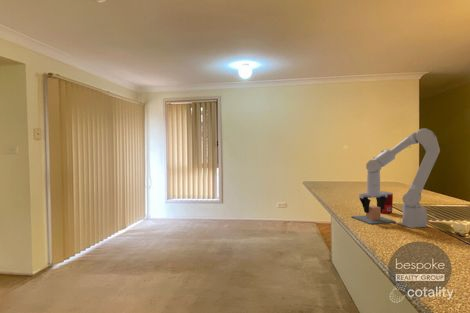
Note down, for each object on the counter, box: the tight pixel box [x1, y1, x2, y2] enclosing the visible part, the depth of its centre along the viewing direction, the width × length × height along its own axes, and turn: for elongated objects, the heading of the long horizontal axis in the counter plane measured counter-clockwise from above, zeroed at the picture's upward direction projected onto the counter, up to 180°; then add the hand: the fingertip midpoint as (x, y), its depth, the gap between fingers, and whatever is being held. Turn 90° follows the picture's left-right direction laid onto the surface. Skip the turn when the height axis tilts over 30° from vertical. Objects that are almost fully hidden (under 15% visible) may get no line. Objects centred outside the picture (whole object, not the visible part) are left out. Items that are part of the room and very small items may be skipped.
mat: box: [351, 214, 397, 225], centre depth 146 cm, size 14×14×1 cm
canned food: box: [380, 190, 394, 215], centre depth 163 cm, size 8×8×11 cm
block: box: [365, 205, 381, 220], centre depth 146 cm, size 4×4×6 cm
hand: (373, 212), depth 146 cm, fingers open, 7 cm apart
